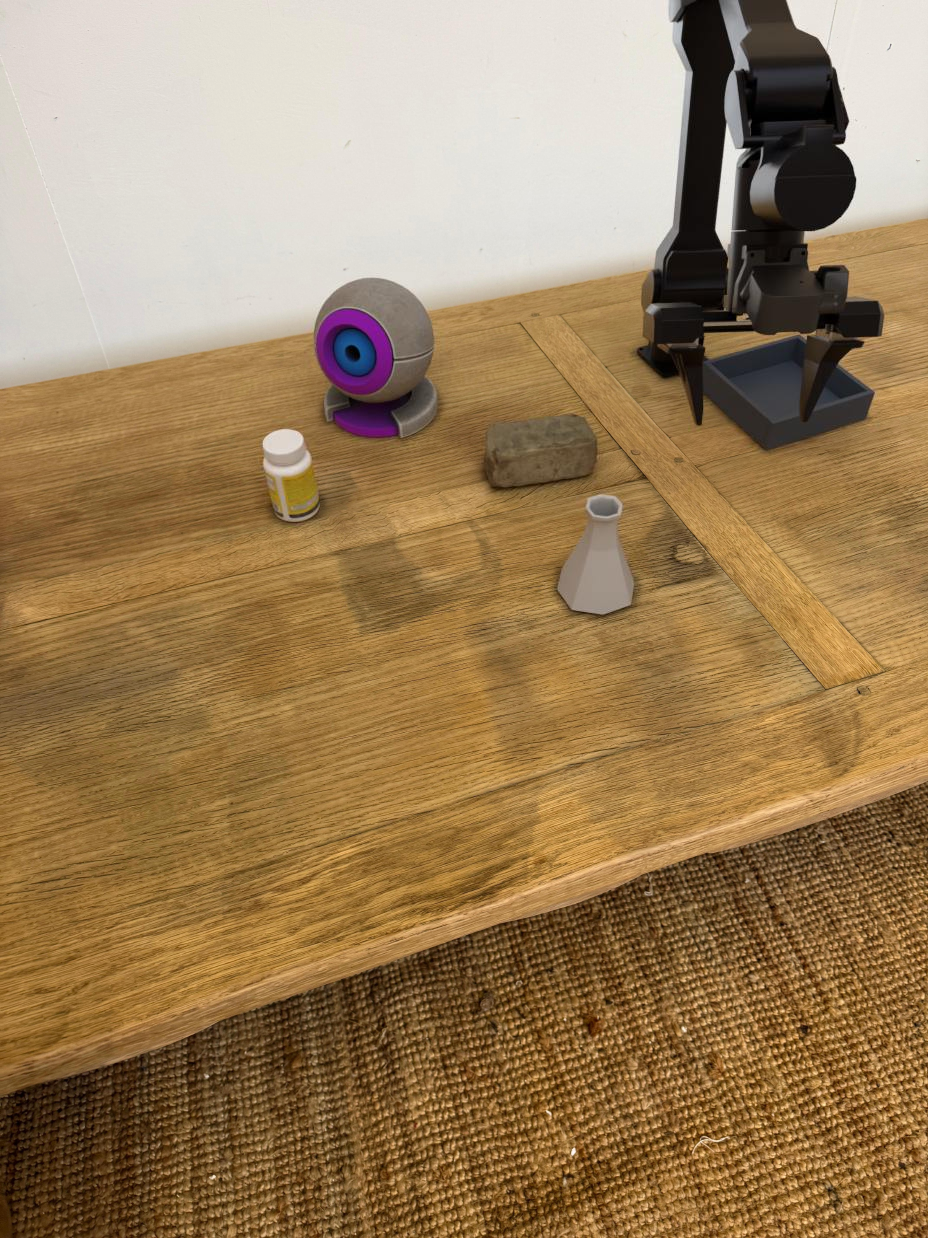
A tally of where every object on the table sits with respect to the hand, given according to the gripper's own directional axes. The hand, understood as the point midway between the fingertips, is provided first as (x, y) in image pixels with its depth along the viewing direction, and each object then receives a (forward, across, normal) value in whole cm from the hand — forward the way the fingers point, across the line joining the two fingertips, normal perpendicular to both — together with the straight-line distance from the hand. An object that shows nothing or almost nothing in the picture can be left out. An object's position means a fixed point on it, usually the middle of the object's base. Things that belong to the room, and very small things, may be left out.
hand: (750, 423), depth 82 cm
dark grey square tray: (+3, +10, +25) cm, 27 cm away
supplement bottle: (+10, -43, +11) cm, 45 cm away
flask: (+15, -13, -1) cm, 20 cm away
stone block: (+8, -18, +15) cm, 24 cm away
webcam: (+2, -35, +26) cm, 44 cm away
